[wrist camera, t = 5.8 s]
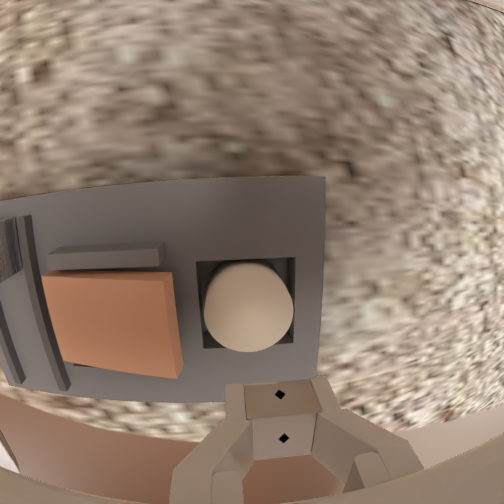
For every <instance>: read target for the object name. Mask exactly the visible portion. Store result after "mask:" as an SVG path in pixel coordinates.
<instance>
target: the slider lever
mask: <svg viewBox="0 0 504 504" xmlns="http://www.w3.org/2000/svg"><path fill="white" fill-rule="evenodd" d="M21 270H23V269H22V264H21V258H20V252H19V246H18V239H17V232H16V224H15V217H14V218H7V219H0V283H1V282H3V281H4V280H6V279H8V278H9V277H11V276H13V275H14V274H16V273H18V272H20V271H21Z"/></svg>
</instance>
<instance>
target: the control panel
mask: <svg viewBox="0 0 504 504" xmlns="http://www.w3.org/2000/svg"><path fill="white" fill-rule="evenodd" d="M14 217H15V224H16V232H17V239H18V246H19V252H20V258H21V264H22V269H23V270H21V271H20V272H18V273H16V274H14V275H13V276H11V277H9V278H8V279H6V280H4V281H3V282H1V283H0V364H1V367H2V369H3V372H4V374H5V376H6V379H7V381H8V383H9V385H11V386H16V387H21V388H26V389H31V390H37V391H43V392H49V393H56V394H63V395H70V396H78V397H87V398H97V399H108V400H121V401H138V402H170V403H196V402H226V389H225V387H226V384H243V383H266V382H283V381H293V380H302V379H309V378H314V377H316V370H317V360H318V348H319V336H320V322H321V307H322V290H323V268H324V239H325V177H319V176H238V177H212V178H193V179H176V180H162V181H149V182H138V183H127V184H116V185H107V186H98V187H89V188H81V189H73V190H65V191H58V192H51V193H44V194H38V195H31V196H25V197H19V198H13V199H7V200H2V201H0V219H7V218H14ZM240 259H264V260H266V261H267V262H269V263H270V264H271V265H272V266H273V267H274V268H275V269H276V271H277V272H278V274H279V275H280V277H281V279H282V281H283V283H284V285H285V287H286V288H287V290H288V292H289V294H290V296H291V299H292V302H293V318H292V322H291V325H290V327H289V329H288V331H287V332H286V333H285V335H284V336H283V337H282V338H281V339H280V340H279V341H278V342H276V343H275V344H274V345H272V346H270V347H268V348H266V349H263V350H260V351H255V352H239V351H235V350H231V349H229V348H227V347H225V346H223V345H221V344H220V343H219V342H217V341H216V340H215V339H214V338H213V337H212V335H211V334H210V332H209V331H208V329H207V326H206V323H205V319H204V308H205V299H206V291H207V284H208V280H209V278H210V276H211V274H212V272H213V271H214V270H215V269H216V267H217V266H219V265H220V264H221V263H222V262H224V261H225V260H240ZM52 270H95V271H133V272H172V278H173V287H174V296H175V305H176V313H177V321H178V329H179V336H180V344H181V351H182V357H183V364H184V366H183V368H182V370H181V372H180V374H179V376H178V378H177V379H174V378H165V377H156V376H149V375H141V374H134V373H127V372H121V371H115V370H109V369H103V368H98V367H92V366H87V365H82V364H77V363H73V362H68V361H63V358H62V355H61V352H60V348H59V345H58V342H57V339H56V335H55V332H54V328H53V324H52V321H51V317H50V313H49V309H48V305H47V300H46V296H45V292H44V287H43V282H42V277H41V276H42V275H44V274H46V273H48V272H50V271H52ZM243 387H244V385H243Z"/></svg>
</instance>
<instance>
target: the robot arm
mask: <svg viewBox="0 0 504 504" xmlns="http://www.w3.org/2000/svg"><path fill="white" fill-rule="evenodd" d="M469 1H472V2H475V3H478V4H481V5H484V6H487V7H490V8H493V9H495V10H498V11H501V12H503V13H504V0H469ZM243 385H244V387H243ZM225 389H226V421H221V422H220V423H219V424H218V425H217V426H216V427H215V428H214V429H213V430H212V431H211V432H210V433H209V434H208V435H207V436H206V437H205V438H204V439H203V440H202V441H201V442H200V443H199V444H198V446H197V447H196V448H195V449H194V450H193V451H192V452H191V453H190V454H189V455H188V456H187V457H186V458H185V459H184V460H183V461H182V462H180V463H179V464H178V465H177V466H176V467H175V468H174V470H173V477H172V484H171V492H170V500H169V504H244V500H243V490H242V480H243V478H244V476H245V475H246V474H247V472H248V470H249V469H250V467H251V465H252V464H253V462H254V460H262V459H271V458H280V457H290V456H300V455H308V454H311V456H312V457H313V458H315V459H316V460H317V461H318V462H319V463H321V464H322V465H323V466H324V467H325V468H326V469H327V470H329V471H330V472H331V473H332V474H333V475H335V476H336V477H337V478H338V479H340V480H341V481H342V482H343V483H345V487H344V489H343V492H342V494H338V495H333V496H328V497H322V498H316V499H310V500H304V501H297V502H290V503H281V504H504V432H503V433H501V434H499V435H498V436H496V437H494V438H492V439H490V440H488V441H486V442H484V443H483V444H481V445H479V446H477V447H475V448H473V449H470V450H468V451H466V452H464V453H462V454H460V455H458V456H455V457H453V458H451V459H449V460H446V461H444V462H441V463H439V464H436V465H434V466H431V467H429V468H426V469H424V467H423V465H422V464H421V462H420V460H419V459H418V457H417V455H416V454H415V452H414V450H413V449H412V447H411V445H410V444H409V442H408V441H407V440H405V439H403V438H401V437H399V436H397V435H395V434H393V433H391V432H389V431H387V430H385V429H383V428H381V427H380V426H378V425H376V424H374V423H372V422H370V421H368V420H366V419H364V418H363V417H361V416H359V415H357V414H355V413H353V412H352V411H350V410H348V409H341V407H340V405H339V403H338V401H337V399H336V396H335V394H334V392H333V390H332V388H331V386H330V384H329V381H328V379H327V377H325V376H321V377H314V378H309V379H302V380H293V381H283V382H266V383H243V384H226V387H225ZM0 504H147V503H138V502H130V501H124V500H117V499H111V498H106V497H101V496H96V495H91V494H87V493H83V492H78V491H74V490H70V489H66V488H63V487H59V486H56V485H52V484H49V483H45V482H42V481H39V480H36V479H33V478H30V477H27V476H24V475H22V474H19V473H16V472H14V471H11V470H8V469H6V468H3V467H1V466H0Z"/></svg>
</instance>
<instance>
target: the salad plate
mask: <svg viewBox="0 0 504 504" xmlns="http://www.w3.org/2000/svg"><path fill="white" fill-rule="evenodd" d="M0 466H1V467H3V468H6V469H8V470H11V471H14V472H16V473H19V474H20V469H19V465H18V462H17V460H16V458H15V456H14V454H13V453H12V451H11V449H10V447H9V445H8V443H7V442H6V440H5V438H4V436H3V434H2V433H1V431H0Z"/></svg>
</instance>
